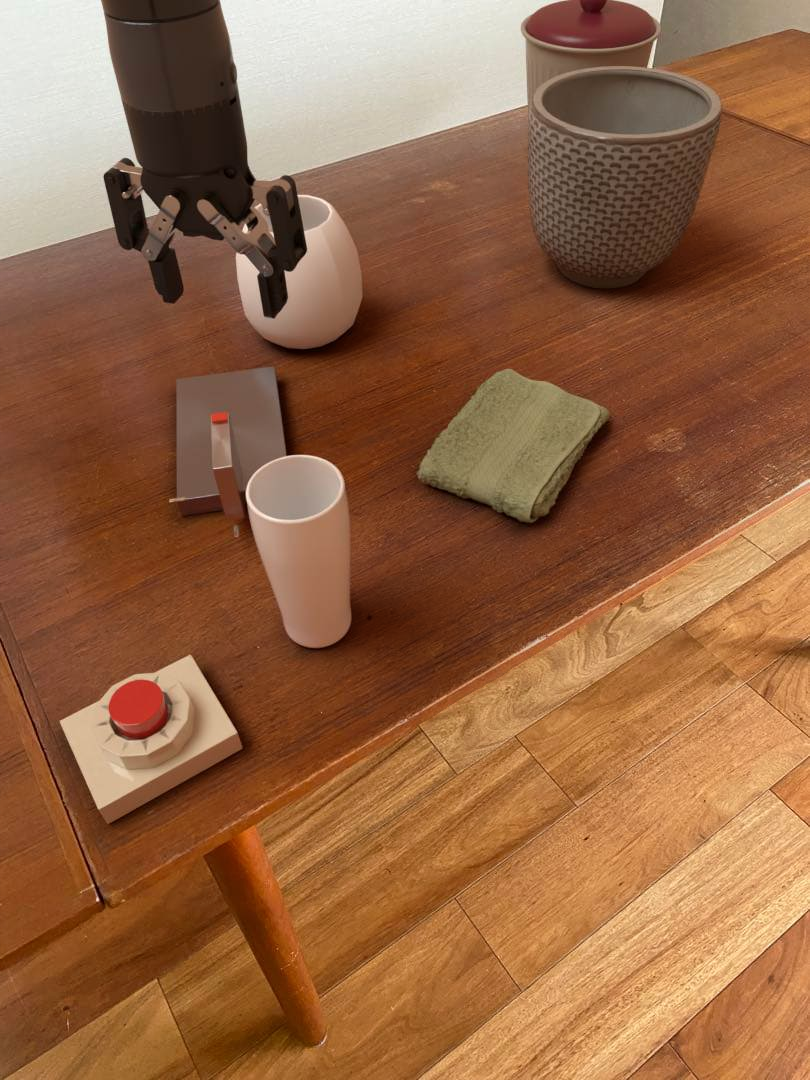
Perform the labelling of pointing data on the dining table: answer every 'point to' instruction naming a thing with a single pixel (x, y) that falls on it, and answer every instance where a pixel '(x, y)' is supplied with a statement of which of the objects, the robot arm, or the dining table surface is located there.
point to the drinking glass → (304, 544)
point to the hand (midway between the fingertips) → (224, 305)
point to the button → (138, 709)
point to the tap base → (252, 422)
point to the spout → (227, 466)
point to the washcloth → (513, 445)
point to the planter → (617, 168)
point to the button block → (151, 742)
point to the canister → (585, 38)
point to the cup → (309, 283)
